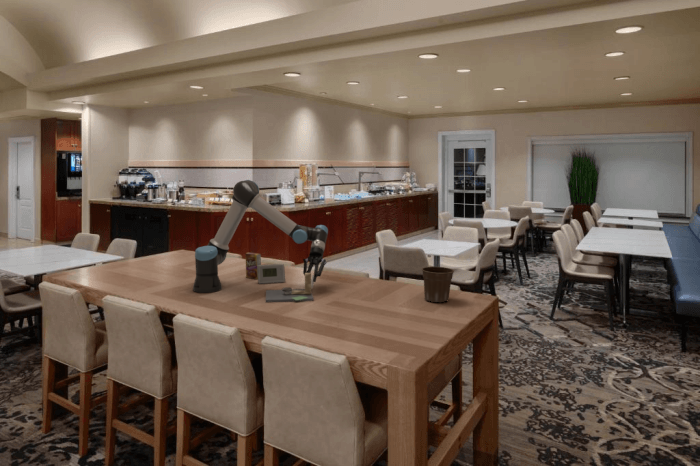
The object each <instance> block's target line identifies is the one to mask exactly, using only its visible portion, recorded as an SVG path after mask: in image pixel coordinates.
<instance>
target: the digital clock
mask: <svg viewBox="0 0 700 466" xmlns="http://www.w3.org/2000/svg"><path fill="white" fill-rule="evenodd" d="M257 274H258V279H257V283H258V284H259V285H262V284H263V285H268V284H269V285H271V284H280V283H285V282H286V271H285V264H284V263H270V264H269V263H267V264H261V265H258V266H257Z"/></svg>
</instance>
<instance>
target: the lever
mask: <svg viewBox="0 0 700 466" xmlns="http://www.w3.org/2000/svg"><path fill="white" fill-rule="evenodd" d="M311 279H312V272H311V273H305V276H304V289H305V290H292V289H293V288H292V287H289V286H287V287H283V288H282V289H281V290H282V291H285V292H288V291H292V294H311V292H312V288H311Z"/></svg>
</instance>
